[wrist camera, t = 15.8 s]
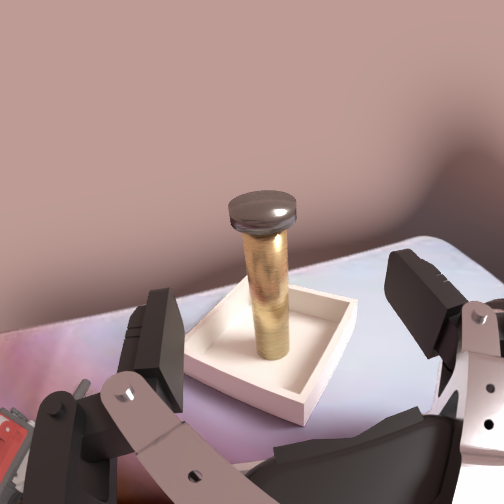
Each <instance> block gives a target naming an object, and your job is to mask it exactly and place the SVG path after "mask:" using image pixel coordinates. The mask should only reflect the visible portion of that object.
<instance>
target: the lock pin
mask: <svg viewBox="0 0 504 504" xmlns="http://www.w3.org/2000/svg"><path fill="white" fill-rule="evenodd" d="M228 208H229V214H230V222H231V226H232V227H233V228H234V229H235V230H237V231H239V232H242V234H243V242H244V251H245V259H246V267H247V275H248V283H249V292H250V300H251V308H252V316H253V324H254V332H255V340H256V348H257V353H258V354H259V356H260V357H262V358H263V359H266V360H271V361H274V360H279V359H282V358H283V357H285V356H286V355H287V354H288V352H289V350H290V331H289V285H288V257H287V256H288V255H287V229H288V228H290V227H291V226H292V225H293V224H294V223H295V222H296V219H297V216H296V199H295V198H294V197H293V196H292V195H290V194H288V193H285V192H281V191H271V190H270V191H269V190H268V191H267V190H265V191H255V192H249V193H246V194H243V195H240V196H238V197H236V198H234V199H233V200H231V201H230V203H229V205H228Z"/></svg>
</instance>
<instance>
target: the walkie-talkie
mask: <svg viewBox="0 0 504 504" xmlns="http://www.w3.org/2000/svg"><path fill="white" fill-rule="evenodd" d="M90 384H91V383H90V381H89V380H87V379H83V380H82V381H81V383H80V385H79V386H78V388H77V390H76V391H75V393H74V394H73V397H74V398H75V399H76V400H78V399H81V398H83V396H84V395H85V393H86V391H87V389H88V388H89V386H90ZM10 411H11V412H9V411H8V410H6V409H5V408H1V409H0V504H19V501H21V498H22V497H23V488H24V481H25V474H26V467H27V462H28V456H29V451H30V445H31V441H32V436H33V431H34V427H35V423H34V422H33V421H32V420H30V421H29V422H28V419H27V418H26V417H25V416H24V415H23V414H22V413H20V412H19V411H18V410H17V409H15V408H11V410H10Z"/></svg>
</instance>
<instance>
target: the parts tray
mask: <svg viewBox="0 0 504 504" xmlns="http://www.w3.org/2000/svg"><path fill="white" fill-rule="evenodd" d="M288 285H289V331H290V350H289V352H288V354H287V355H286V356H285V357H283V358H282V359H279V360H274V361H271V360H266V359H263V358H262V357H260V356H259V354H258V353H257V348H256V340H255V332H254V324H253V316H252V308H251V300H250V292H249V283H248V275H247V276H246V277H245V278H244V279H243V280H242V281H241V282H240V283H239V284H238V285H237V286H236V287H235V288H234V289H233V290H232V291H231V292H230V293H228V294H227V295H226V296H225V297H224V298H223V299H222V300H221V301H220V302H219V303H218V304H217V305H216V306H215V307H214V308H213V309H212V310H211V311H210V312H209V313H208V314H207V315H206V316H205V317H204V318H203V319H202V320H201V321H200V322H199V323H198V324H197V325H196V326H195V327H194V328H192V329H191V330H190V331H189V332H188V333H187V334H186V335H185V343H184V370H183V373H185V374H187V375H188V376H190V377H192V378H194V379H196V380H198V381H200V382H202V383H204V384H206V385H208V386H210V387H212V388H214V389H216V390H218V391H220V392H222V393H224V394H227V395H229V396H231V397H233V398H235V399H237V400H240V401H242V402H244V403H246V404H248V405H251V406H253V407H255V408H258V409H260V410H262V411H265V412H267V413H270V414H272V415H274V416H277V417H279V418H282V419H284V420H287V421H290V422H292V423H295V424H298V425H300V426H303V427H304V425H305V424H306V422H307V420H308V419H309V417H310V415H311V413H312V411H313V410H314V408H315V406H316V404H317V403H318V401H319V399H320V397H321V395H322V393H323V391H324V390H325V388H326V386H327V384H328V382H329V380H330V378H331V376H332V374H333V372H334V370H335V368H336V366H337V364H338V362H339V360H340V358H341V356H342V354H343V352H344V350H345V348H346V346H347V344H348V342H349V339H350V337H351V335H352V333H353V331H354V329H355V324H356V315H357V306H358V300H356V299H352V298H347V297H343V296H338V295H334V294H330V293H325V292H321V291H317V290H312V289H308V288H304V287H300V286H295V285H291V284H288Z"/></svg>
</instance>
